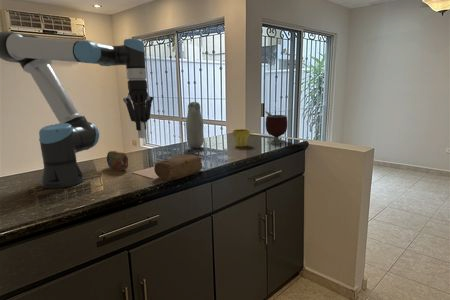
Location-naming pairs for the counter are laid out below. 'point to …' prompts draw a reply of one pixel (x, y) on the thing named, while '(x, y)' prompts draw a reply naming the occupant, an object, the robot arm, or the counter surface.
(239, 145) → the plant pot
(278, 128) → the mate gourd
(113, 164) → the mottled brown rounded slab
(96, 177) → the counter surface
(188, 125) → the grey bottle
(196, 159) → the block
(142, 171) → the pad
